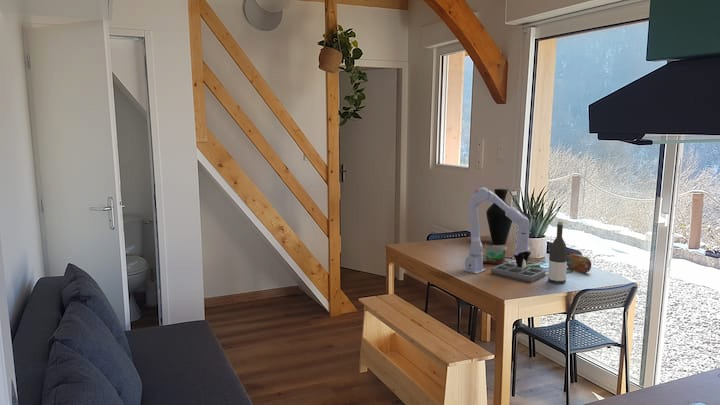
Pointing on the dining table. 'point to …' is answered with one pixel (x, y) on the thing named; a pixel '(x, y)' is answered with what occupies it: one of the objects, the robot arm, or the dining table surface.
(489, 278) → the dining table surface
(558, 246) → the wine bottle
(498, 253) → the food container
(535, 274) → the grey compartment tray
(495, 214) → the vase
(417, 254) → the dining table surface
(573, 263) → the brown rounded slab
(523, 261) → the egg
